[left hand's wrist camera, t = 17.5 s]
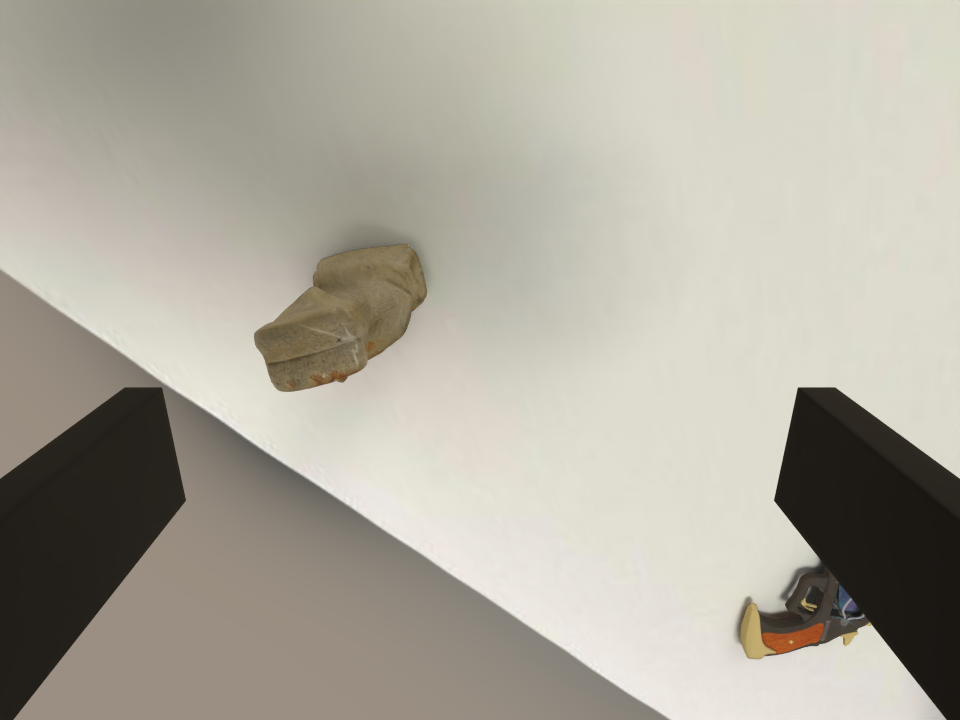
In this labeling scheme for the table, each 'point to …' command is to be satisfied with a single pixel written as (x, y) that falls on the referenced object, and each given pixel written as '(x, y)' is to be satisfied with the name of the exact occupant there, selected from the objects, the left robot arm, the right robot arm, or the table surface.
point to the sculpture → (343, 317)
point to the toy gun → (803, 620)
